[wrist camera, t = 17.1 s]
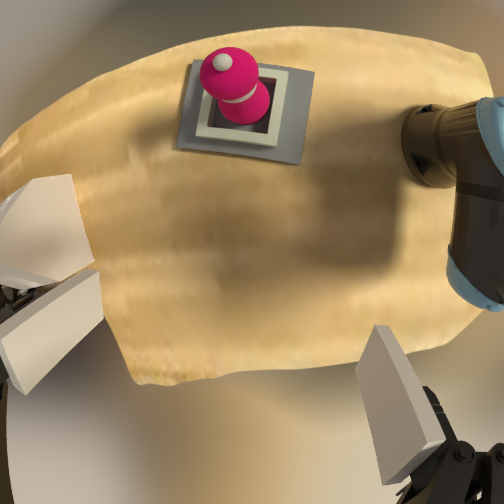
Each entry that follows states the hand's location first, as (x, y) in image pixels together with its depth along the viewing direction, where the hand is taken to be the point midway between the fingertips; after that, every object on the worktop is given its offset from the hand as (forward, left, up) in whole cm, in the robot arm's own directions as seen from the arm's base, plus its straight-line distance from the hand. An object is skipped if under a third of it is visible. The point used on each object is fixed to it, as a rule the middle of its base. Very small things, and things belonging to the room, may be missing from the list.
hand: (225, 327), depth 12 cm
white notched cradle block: (+44, +10, -35) cm, 57 cm away
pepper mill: (+5, -16, -33) cm, 37 cm away
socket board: (+6, -16, -34) cm, 38 cm away
